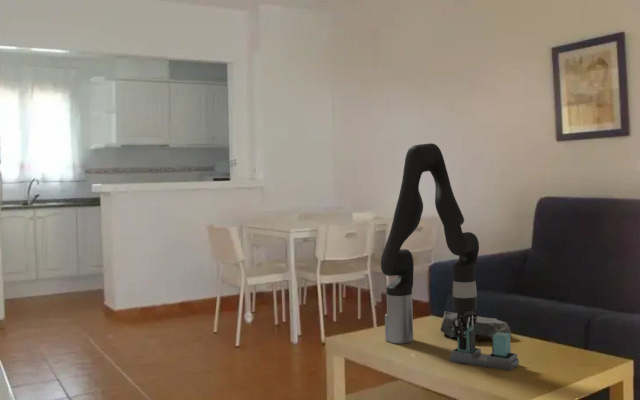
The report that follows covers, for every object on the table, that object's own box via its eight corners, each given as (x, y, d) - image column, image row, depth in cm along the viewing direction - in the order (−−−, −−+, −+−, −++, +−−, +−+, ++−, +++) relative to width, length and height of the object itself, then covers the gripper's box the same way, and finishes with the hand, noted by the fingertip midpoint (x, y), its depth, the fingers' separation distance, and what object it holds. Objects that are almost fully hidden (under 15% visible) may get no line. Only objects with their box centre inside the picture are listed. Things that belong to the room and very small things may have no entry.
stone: (440, 307, 264) (506, 307, 259) (440, 328, 264) (506, 328, 260) (439, 320, 241) (512, 320, 236) (440, 343, 241) (512, 344, 237)
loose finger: (470, 353, 214) (470, 329, 214) (457, 352, 217) (457, 327, 217) (475, 351, 217) (475, 326, 217) (462, 349, 220) (462, 324, 220)
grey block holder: (450, 361, 217) (449, 330, 217) (459, 356, 223) (458, 326, 222) (510, 370, 205) (510, 338, 205) (518, 364, 211) (518, 333, 210)
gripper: (466, 299, 209) (467, 354, 209) (484, 292, 220) (485, 344, 221) (444, 297, 213) (445, 351, 214) (463, 290, 225) (464, 341, 225)
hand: (465, 347), depth 217 cm, fingers closed on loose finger, 4 cm apart
